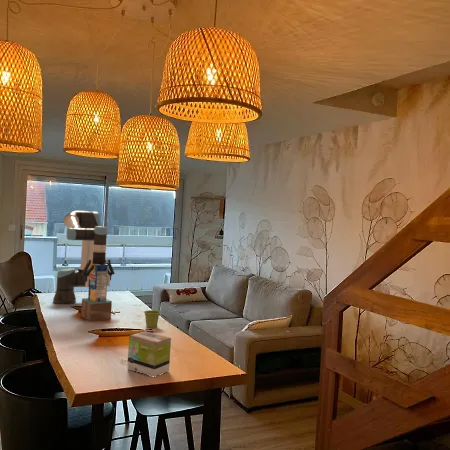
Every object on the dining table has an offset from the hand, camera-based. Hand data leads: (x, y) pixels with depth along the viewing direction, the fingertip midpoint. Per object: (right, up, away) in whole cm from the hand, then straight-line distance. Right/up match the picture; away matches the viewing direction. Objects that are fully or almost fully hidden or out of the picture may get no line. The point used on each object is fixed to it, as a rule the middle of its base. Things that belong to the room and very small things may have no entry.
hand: (97, 286), depth 276 cm
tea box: (+46, -24, -88) cm, 102 cm away
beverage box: (0, -8, 0) cm, 8 cm away
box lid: (0, -9, 0) cm, 9 cm away
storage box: (-1, -19, 0) cm, 19 cm away
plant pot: (+35, -22, -14) cm, 44 cm away
